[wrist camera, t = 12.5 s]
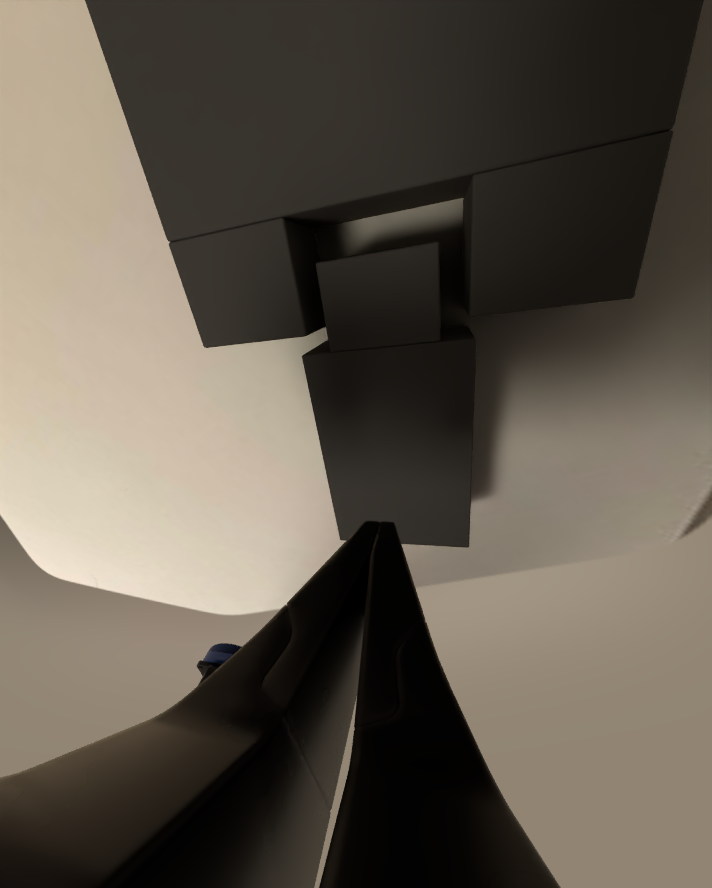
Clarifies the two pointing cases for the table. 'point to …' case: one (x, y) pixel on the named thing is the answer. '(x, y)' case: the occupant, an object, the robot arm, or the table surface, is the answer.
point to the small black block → (394, 397)
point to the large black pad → (398, 140)
